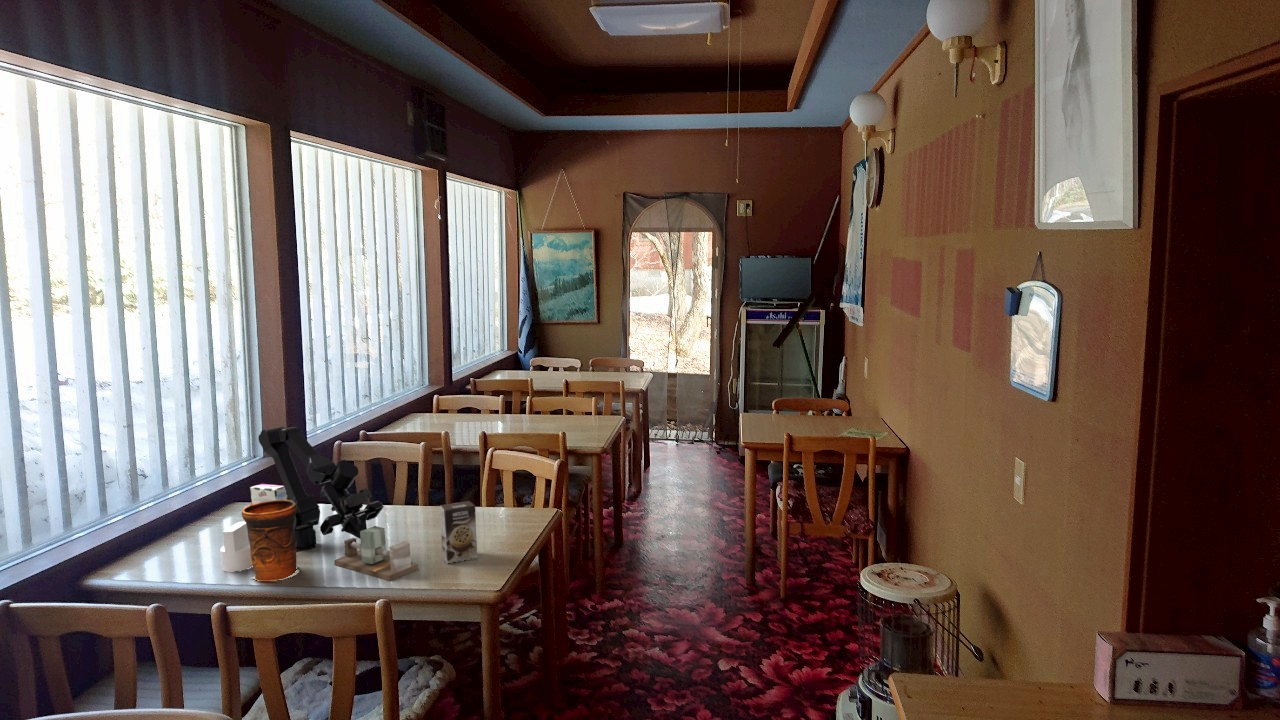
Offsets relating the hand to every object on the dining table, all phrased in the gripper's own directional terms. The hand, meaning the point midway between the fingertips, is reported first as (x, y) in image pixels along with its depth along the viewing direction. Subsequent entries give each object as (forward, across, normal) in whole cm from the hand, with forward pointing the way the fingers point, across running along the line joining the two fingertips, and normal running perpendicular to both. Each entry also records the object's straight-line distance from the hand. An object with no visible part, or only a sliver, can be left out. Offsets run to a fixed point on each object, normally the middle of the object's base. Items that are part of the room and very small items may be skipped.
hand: (367, 540), depth 233 cm
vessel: (-8, -18, +18) cm, 26 cm away
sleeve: (+6, 0, +2) cm, 6 cm away
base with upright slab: (-18, -20, +29) cm, 39 cm away
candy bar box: (-30, +2, +40) cm, 50 cm away
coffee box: (+19, +17, -8) cm, 27 cm away
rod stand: (+7, 0, +3) cm, 8 cm away
